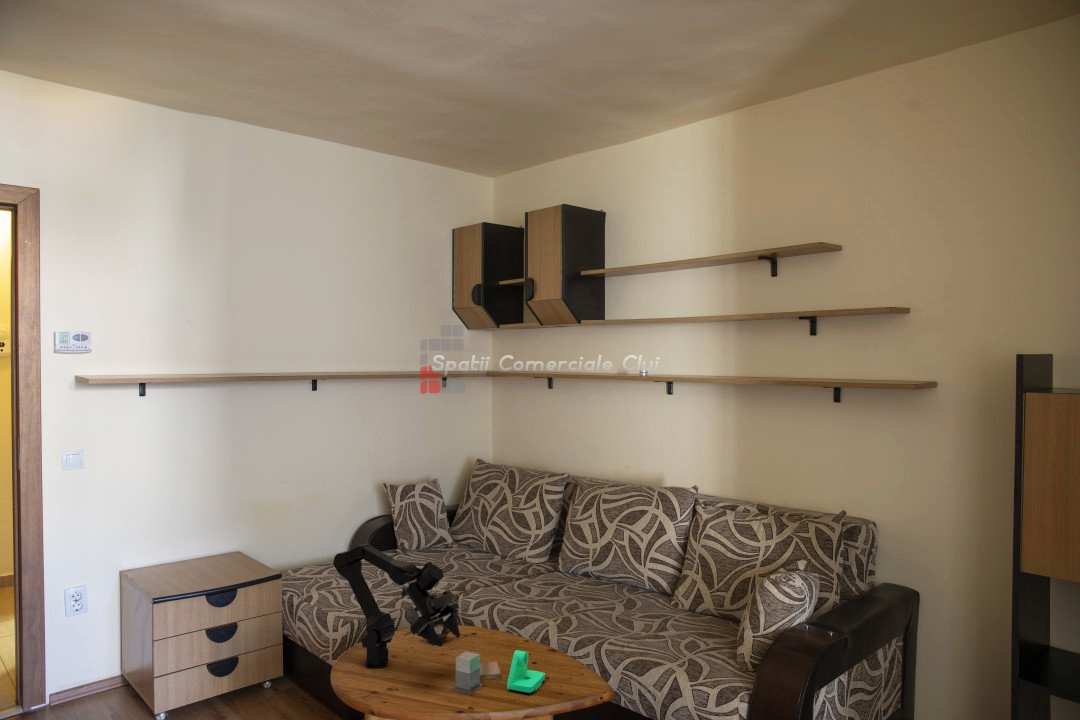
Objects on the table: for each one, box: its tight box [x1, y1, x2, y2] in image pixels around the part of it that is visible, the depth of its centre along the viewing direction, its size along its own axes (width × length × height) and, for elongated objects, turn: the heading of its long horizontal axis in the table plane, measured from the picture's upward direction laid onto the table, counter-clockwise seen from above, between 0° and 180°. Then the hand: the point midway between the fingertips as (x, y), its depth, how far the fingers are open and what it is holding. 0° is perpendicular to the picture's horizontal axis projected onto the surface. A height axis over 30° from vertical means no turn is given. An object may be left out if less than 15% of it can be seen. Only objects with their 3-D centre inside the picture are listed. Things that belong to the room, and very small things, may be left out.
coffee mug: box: [427, 615, 461, 646], centre depth 257 cm, size 12×9×10 cm
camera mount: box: [506, 649, 546, 693], centre depth 221 cm, size 12×8×10 cm, turn 158°
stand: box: [480, 661, 502, 681], centre depth 230 cm, size 10×10×2 cm
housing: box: [451, 651, 484, 695], centre depth 219 cm, size 6×6×10 cm
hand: (450, 641), depth 222 cm, fingers open, 9 cm apart
